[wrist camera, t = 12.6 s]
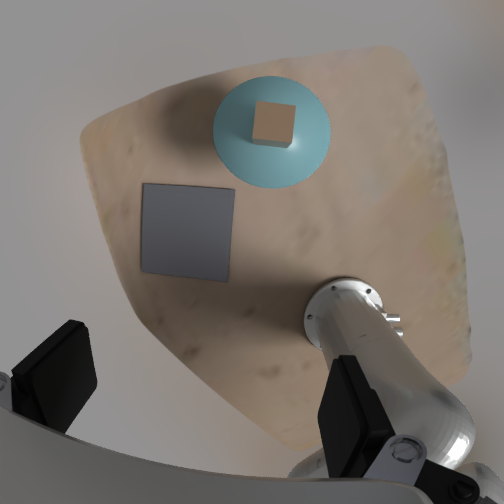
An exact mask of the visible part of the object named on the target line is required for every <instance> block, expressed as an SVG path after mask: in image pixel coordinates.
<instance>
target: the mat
mask: <svg viewBox="0 0 504 504" xmlns="http://www.w3.org/2000/svg"><path fill="white" fill-rule="evenodd" d="M234 198H235V190H231V189H219V188H206V187H192V186H176V185H158V184H144V193H143V215H142V272H146V273H154V274H162V275H171V276H179V277H187V278H196V279H205V280H214V281H223V282H227V281H228V269H229V256H230V244H231V232H232V220H233V209H234Z"/></svg>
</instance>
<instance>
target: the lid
mask: <svg viewBox="0 0 504 504" xmlns="http://www.w3.org/2000/svg"><path fill="white" fill-rule="evenodd" d="M330 132H331V131H330V123H329V119H328V116H327V113H326V111H325V109H324V107H323V105H322V103H321V102H320V101H319V99H318V98H317V97H316V96H315V95H314V94H313V93H312V92H311V91H310V90H309V89H308V88H306V87H305V86H303V85H302V84H300V83H298V82H296V81H293V80H290V79H287V78H283V77H276V76H265V77H258V78H254V79H251V80H248V81H246V82H244V83H242V84H240V85H239V86H237V87H235V88H234V89H233V90H232V91H231V92H230V93H229V94H228V95H227V96H226V97H225V98H224V99H223V101H222V102H221V104H220V106H219V108H218V110H217V112H216V115H215V118H214V124H213V139H214V144H215V148H216V150H217V153H218V155H219V157H220V159H221V161H222V162H223V163H224V165H225V166H226V167H227V168H228V169H229V170H230V172H232V173H233V174H234V175H235V176H236V177H238V178H239V179H241V180H243V181H245V182H247V183H249V184H251V185H255V186H258V187H263V188H283V187H288V186H291V185H294V184H297V183H299V182H301V181H303V180H304V179H306V178H307V177H309V176H310V175H311V174H312V173H313V172H315V170H316V169H317V168H318V167H319V166H320V164H321V163H322V161H323V160H324V158H325V156H326V154H327V151H328V148H329V143H330Z"/></svg>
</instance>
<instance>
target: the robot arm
mask: <svg viewBox="0 0 504 504" xmlns="http://www.w3.org/2000/svg"><path fill="white" fill-rule="evenodd" d="M332 286H334V287H333V288H331V287H332ZM367 289H368V290H367ZM309 314H311V315H310V316H308V315H309ZM399 321H400V316H399V314H386V312H385V311H384V310H383V304H382V301H381V298H380V296H379V294H378V293H377V292H376V290H375V289H374V288H373V287H372V286H371V285H369V284H368V283H366V282H364V281H363V280H359V279H356V278H341V279H337V280H334V281H331V282H329V283H327V284H325V285H324V286H322V287H321V288H320V289H318V290H317V291H316V292H315V293H314V294H313V296H312V297H311V299H310V300H309V302H308V304H307V306H306V308H305V312H304V328H305V332H306V335H307V337H308V338H309V340H310V342H311V343H312V344H313V345H314V346H315V347H317V348H318V349H320V350H322V351H323V354H324V357H325V360H326V363H327V366H328V369H329V376H328V380H327V384H326V387H325V391H324V394H323V398H322V401H321V404H320V408H319V411H318V424H319V429H320V434H321V439H322V444H323V448H321V449H319V450H318V451H316V452H315V453H313V454H312V455H310V456H309V457H307V458H306V459H304V460H303V461H301V462H300V463H298V464H297V465H296V466H295V467H294V468H293V469H292V471H291V472H290V473H289V475H288V477H287V478H274V477H256V476H243V475H231V474H223V473H215V472H208V471H201V470H195V469H189V468H183V467H178V466H173V465H167V464H163V463H158V462H154V461H149V460H146V459H141V458H138V457H133V456H130V455H126V454H123V453H119V452H116V451H112V450H109V449H106V448H103V447H100V446H97V445H93V444H91V443H88V442H84V441H82V440H79V439H77V438H74V437H71V436H69V435H66V434H65V432H66V431H67V429H68V428H69V427H70V425H71V424H72V422H73V420H74V419H75V418H76V416H77V415H78V413H79V412H80V410H81V409H82V408H83V406H84V405H85V403H86V402H87V400H88V399H89V398H90V396H91V395H92V393H93V392H94V391H95V389H96V387H97V377H96V372H95V368H94V362H93V357H92V351H91V345H90V338H89V333H88V328H87V327H86V326H85V324H84V323H83V322H80V321H75V320H68V321H67V322H66V323H65V324H64V325H62V326H61V327H60V328H59V329H58V330H56V331H55V332H54V333H53V334H52V335H51V336H49V337H48V338H47V339H46V340H45V341H44V342H42V343H41V344H40V345H39V346H38V347H37V348H36V349H34V350H33V351H32V352H31V353H30V354H29V355H28V356H27V357H25V358H24V359H23V360H22V361H21V362H20V363H19V364H18V365H16V366H15V367H14V368H13V369H12V370H11V371H12V374H13V376H12V377H11V378H10V377H9V376H8V375H7V374H6V373H3V372H0V504H504V482H503V481H502V480H501V479H500V477H499V476H498V475H497V474H496V473H495V472H494V471H493V470H492V469H491V468H490V467H488V466H487V465H485V464H483V463H479V462H470V463H467V464H464V465H462V466H460V467H458V466H459V465H460V464H461V462H462V461H463V460H464V459H465V458H466V456H467V455H468V453H469V452H470V450H471V448H472V446H473V443H474V440H475V423H474V420H473V418H472V416H471V414H470V412H469V411H468V409H467V408H466V406H465V405H464V404H463V403H462V402H461V401H460V400H459V399H458V398H457V397H456V396H455V395H454V394H453V393H452V392H450V391H449V390H448V389H447V388H446V387H445V386H443V385H442V384H441V383H440V382H439V381H438V380H437V379H436V378H434V377H433V376H432V375H431V374H430V373H429V372H428V371H427V370H426V368H425V367H424V366H423V365H422V364H421V363H420V361H419V360H418V359H417V358H416V357H415V355H414V354H413V353H412V352H411V350H410V349H409V348H408V346H407V345H406V344H405V343H404V341H403V340H402V339H401V338H402V336H403V329H402V328H401V327H392V326H391V325H390V324H389V322H390V323H399ZM457 467H458V468H457Z"/></svg>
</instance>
